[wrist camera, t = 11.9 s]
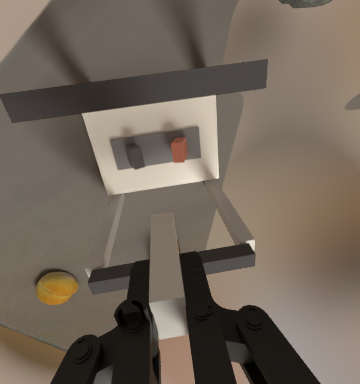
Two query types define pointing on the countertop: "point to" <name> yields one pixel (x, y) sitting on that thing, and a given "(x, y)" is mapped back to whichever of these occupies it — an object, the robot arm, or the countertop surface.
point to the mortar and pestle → (305, 3)
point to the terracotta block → (179, 149)
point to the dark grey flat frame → (135, 96)
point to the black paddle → (135, 156)
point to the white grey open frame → (157, 160)
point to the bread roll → (56, 287)
